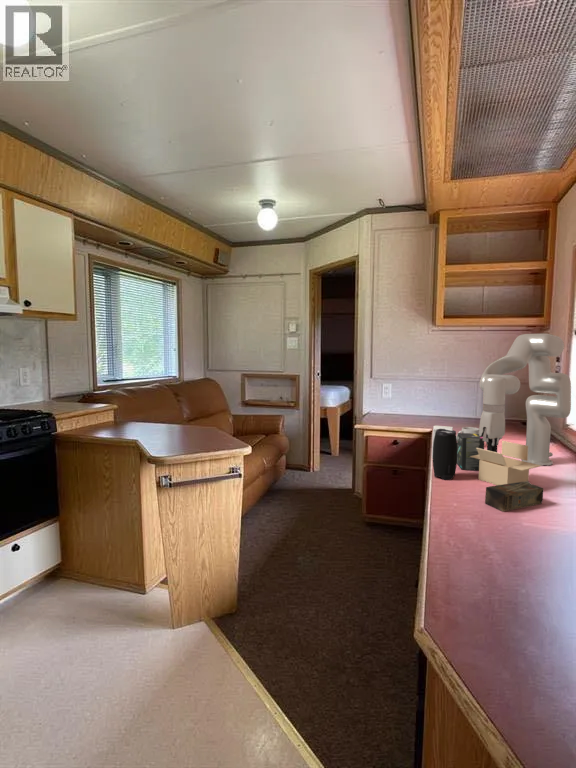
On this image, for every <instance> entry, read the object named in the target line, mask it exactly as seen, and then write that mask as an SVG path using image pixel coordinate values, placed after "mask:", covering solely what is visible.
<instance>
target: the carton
mask: <svg viewBox="0 0 576 768" xmlns="http://www.w3.org/2000/svg"><path fill="white" fill-rule="evenodd" d="M470 457H472V458H476V459H480V460H479V471H478V480H479V481H482V482H485V481H486V483H488V482H489V483H488V484H491V483H492V485H494V486H497V485H503V484H510V483H518V482H525V481H526V482H529V476H530V475H529V473H530V470H531V469H535V468H539V467H542V465H537V464H533V463H529V462H524V461H522V460H521V459H517V458H513V457H508V456H503V457H504V460H505V462H506V465H507V466H505V465H501V464H497V463H494V462H490V461H486V460H482V459H481V458H480V456H479V455H474V456H470Z"/></svg>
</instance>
